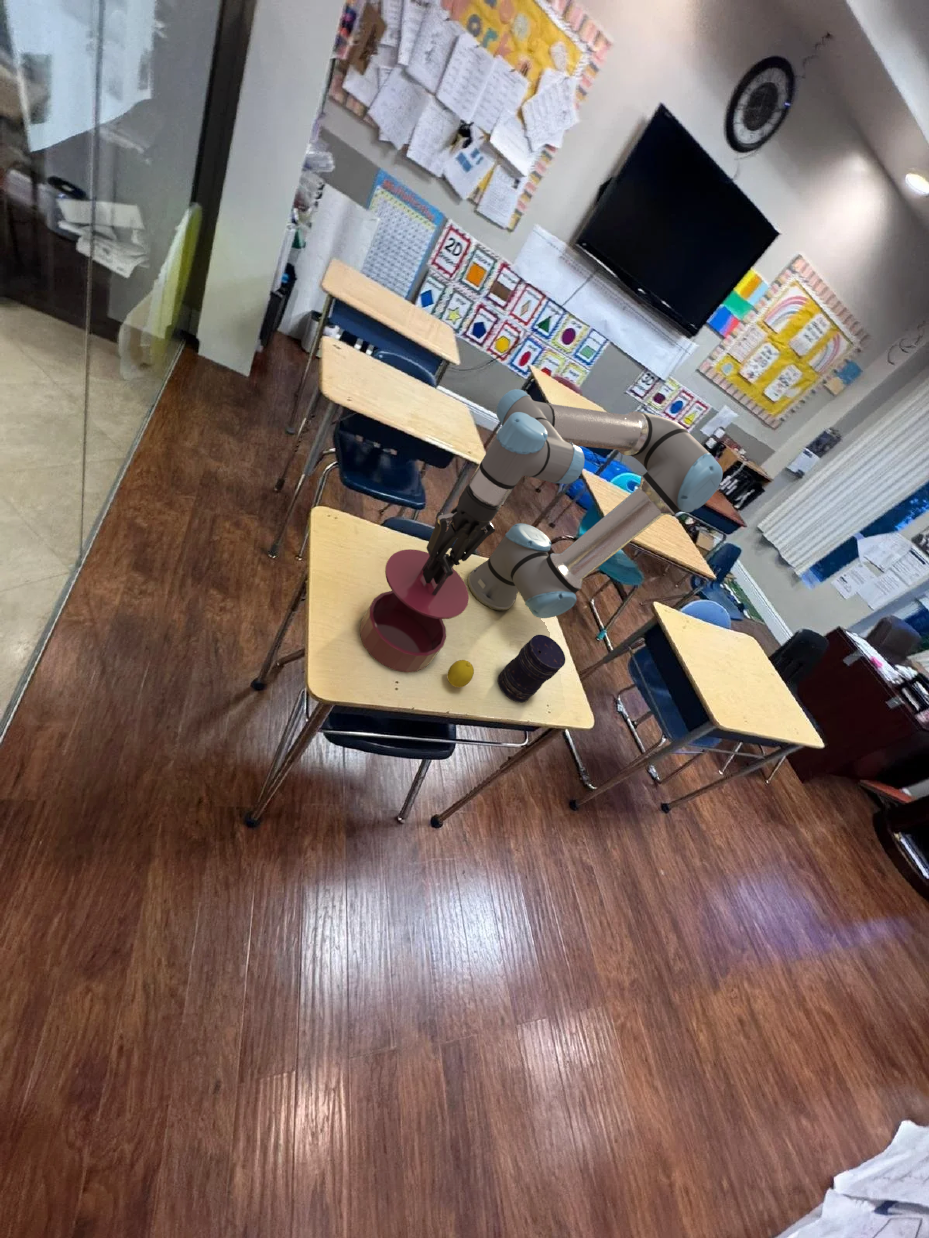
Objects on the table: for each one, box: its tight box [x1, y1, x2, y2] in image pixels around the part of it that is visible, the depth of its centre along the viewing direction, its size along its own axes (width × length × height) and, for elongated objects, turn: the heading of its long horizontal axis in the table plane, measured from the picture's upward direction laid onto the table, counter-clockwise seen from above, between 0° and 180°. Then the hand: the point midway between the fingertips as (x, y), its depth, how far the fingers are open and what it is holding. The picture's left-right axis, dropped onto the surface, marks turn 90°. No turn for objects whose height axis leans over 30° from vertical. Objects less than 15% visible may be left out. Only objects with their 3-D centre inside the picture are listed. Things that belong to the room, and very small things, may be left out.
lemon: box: [446, 659, 475, 688], centre depth 117 cm, size 6×6×8 cm
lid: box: [384, 548, 470, 620], centre depth 109 cm, size 20×20×9 cm
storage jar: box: [497, 634, 566, 703], centre depth 124 cm, size 10×10×15 cm
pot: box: [359, 590, 447, 673], centre depth 118 cm, size 19×19×6 cm
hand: (430, 578), depth 110 cm, fingers closed on lid, 2 cm apart
